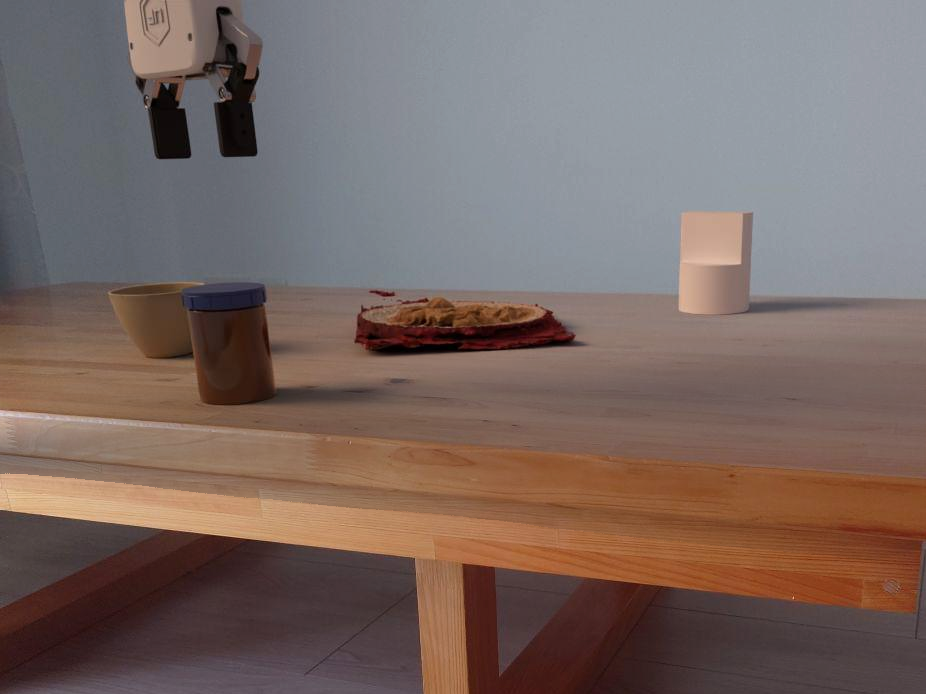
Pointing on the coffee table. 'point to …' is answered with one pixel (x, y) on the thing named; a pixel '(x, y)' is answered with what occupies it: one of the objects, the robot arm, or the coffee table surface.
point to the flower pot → (155, 317)
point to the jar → (232, 354)
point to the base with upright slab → (715, 262)
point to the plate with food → (457, 324)
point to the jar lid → (224, 295)
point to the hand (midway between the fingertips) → (205, 157)
